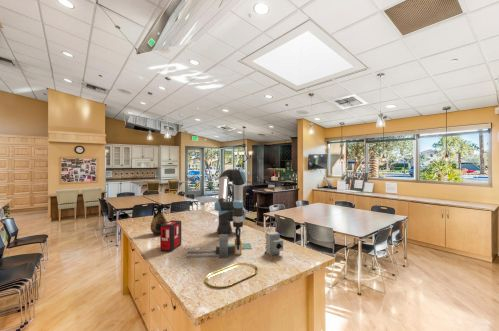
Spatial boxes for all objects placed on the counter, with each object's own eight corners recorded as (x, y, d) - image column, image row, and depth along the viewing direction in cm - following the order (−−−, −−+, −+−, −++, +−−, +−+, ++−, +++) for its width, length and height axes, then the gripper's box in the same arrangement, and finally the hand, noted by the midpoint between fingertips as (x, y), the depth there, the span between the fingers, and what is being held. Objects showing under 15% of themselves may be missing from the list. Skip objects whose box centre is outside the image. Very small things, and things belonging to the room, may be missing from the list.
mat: (226, 244, 191) (226, 243, 191) (250, 243, 193) (250, 243, 193) (226, 249, 179) (226, 249, 179) (251, 248, 181) (251, 248, 181)
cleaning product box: (171, 244, 192) (171, 220, 192) (181, 244, 190) (181, 220, 190) (160, 251, 176) (160, 225, 176) (170, 252, 174) (171, 225, 174)
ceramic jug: (167, 231, 229) (168, 201, 229) (167, 235, 214) (167, 203, 214) (149, 232, 223) (149, 202, 223) (147, 237, 209) (147, 204, 209)
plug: (216, 252, 173) (216, 239, 173) (243, 251, 175) (243, 238, 175) (215, 255, 168) (215, 241, 168) (243, 254, 170) (243, 240, 170)
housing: (188, 251, 176) (188, 235, 176) (227, 249, 179) (227, 233, 179) (185, 259, 161) (185, 241, 161) (227, 257, 164) (227, 240, 164)
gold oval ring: (199, 280, 133) (199, 277, 133) (243, 262, 157) (243, 260, 157) (218, 293, 119) (218, 290, 119) (263, 271, 143) (263, 269, 143)
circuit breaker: (275, 258, 163) (275, 237, 163) (265, 251, 175) (265, 232, 175) (284, 256, 166) (284, 235, 166) (273, 250, 179) (273, 230, 179)
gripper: (232, 218, 181) (232, 247, 181) (233, 224, 163) (233, 257, 163) (242, 218, 181) (242, 247, 182) (243, 224, 163) (243, 256, 164)
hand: (237, 252), depth 172 cm, fingers closed on plug, 5 cm apart
